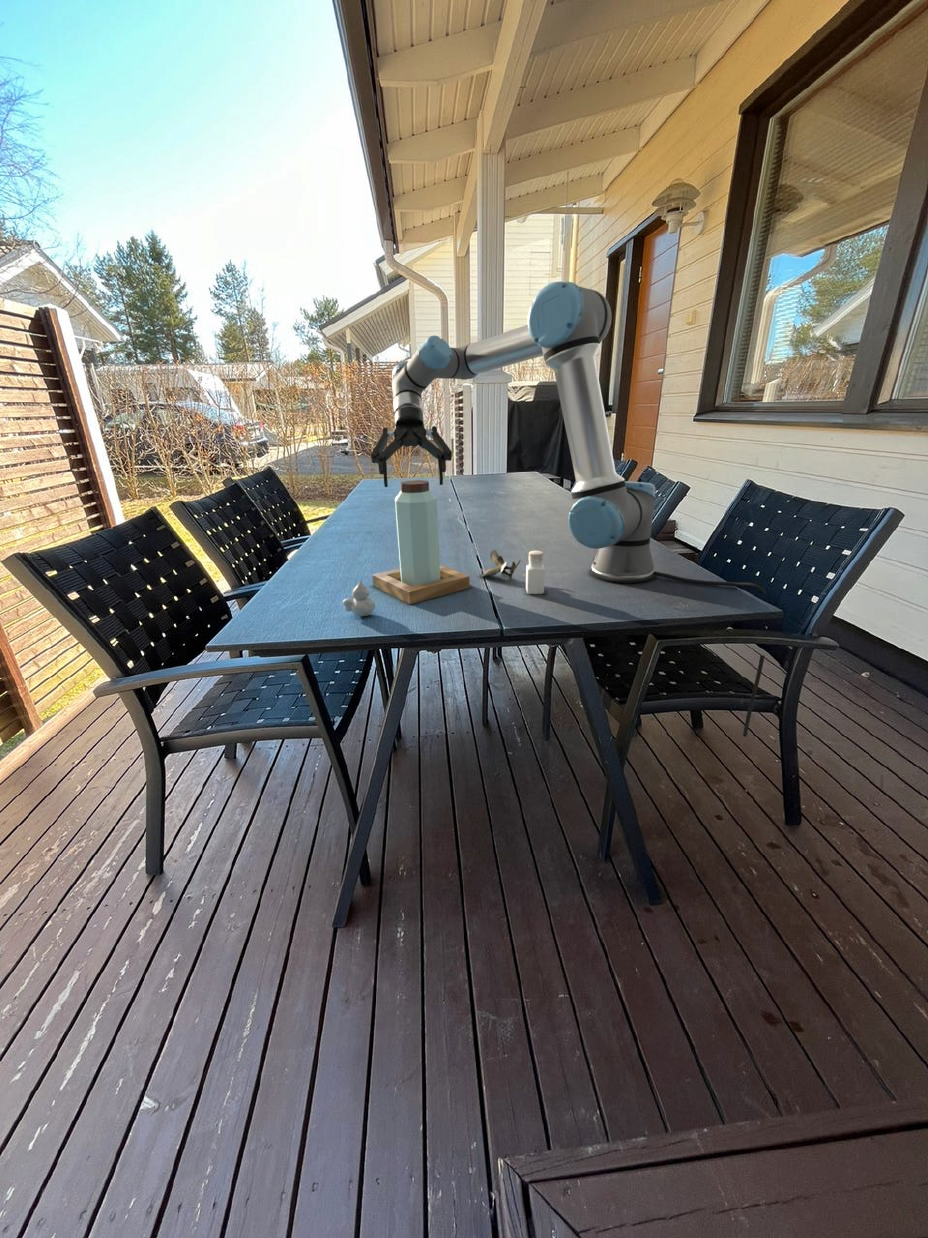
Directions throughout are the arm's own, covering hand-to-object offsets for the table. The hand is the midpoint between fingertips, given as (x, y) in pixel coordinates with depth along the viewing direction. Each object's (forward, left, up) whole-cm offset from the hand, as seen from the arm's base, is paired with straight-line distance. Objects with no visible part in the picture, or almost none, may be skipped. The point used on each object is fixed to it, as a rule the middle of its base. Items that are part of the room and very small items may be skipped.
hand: (413, 482), depth 129 cm
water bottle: (-9, +5, -24) cm, 26 cm away
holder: (-9, +5, -23) cm, 26 cm away
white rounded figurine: (-16, +25, -24) cm, 38 cm away
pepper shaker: (-30, -13, -24) cm, 40 cm away
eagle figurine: (-16, -14, -24) cm, 32 cm away
